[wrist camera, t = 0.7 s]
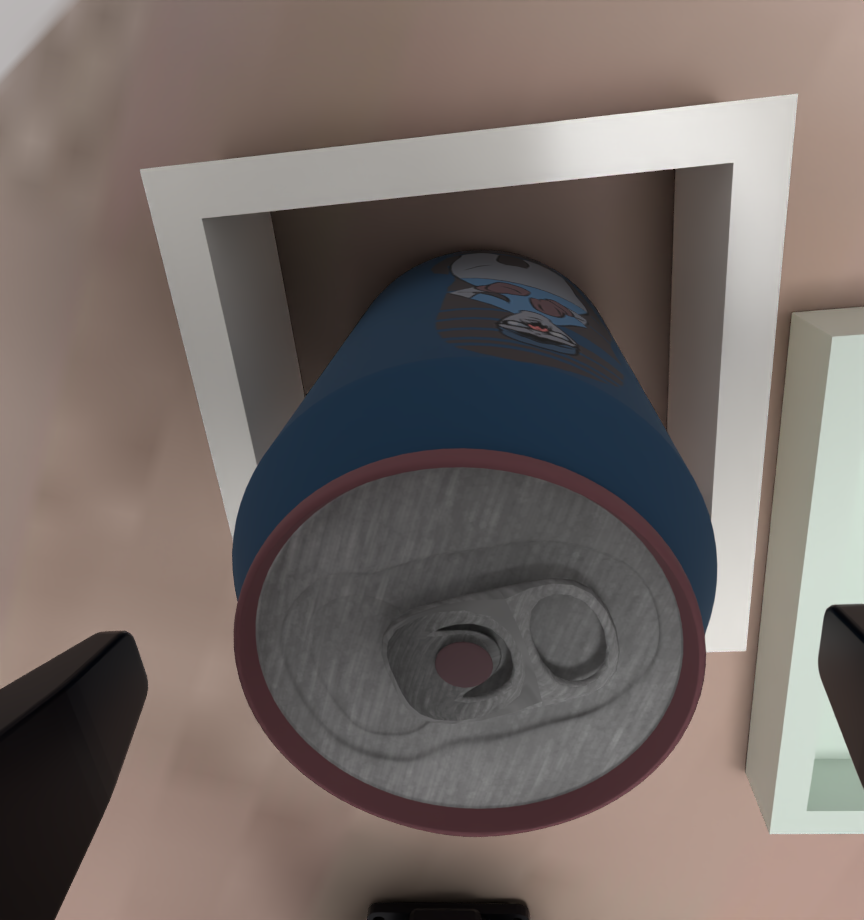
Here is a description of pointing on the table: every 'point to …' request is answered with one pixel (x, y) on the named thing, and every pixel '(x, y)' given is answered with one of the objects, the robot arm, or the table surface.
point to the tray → (810, 580)
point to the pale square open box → (499, 165)
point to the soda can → (474, 561)
